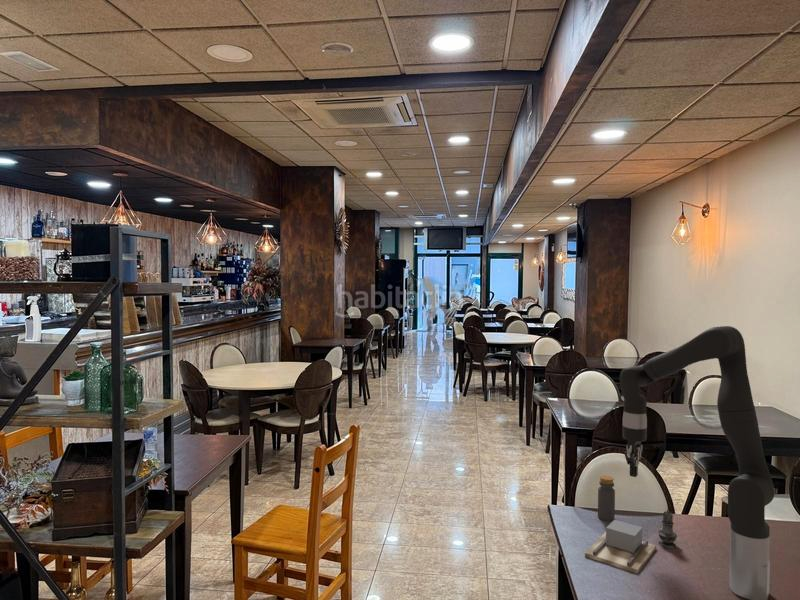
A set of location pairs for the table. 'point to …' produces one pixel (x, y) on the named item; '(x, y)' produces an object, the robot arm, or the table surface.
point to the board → (620, 555)
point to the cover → (624, 536)
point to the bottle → (606, 499)
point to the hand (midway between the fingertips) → (633, 476)
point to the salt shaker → (667, 531)
